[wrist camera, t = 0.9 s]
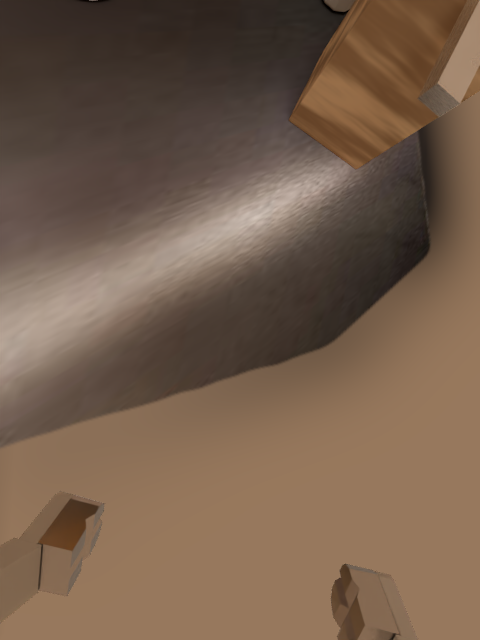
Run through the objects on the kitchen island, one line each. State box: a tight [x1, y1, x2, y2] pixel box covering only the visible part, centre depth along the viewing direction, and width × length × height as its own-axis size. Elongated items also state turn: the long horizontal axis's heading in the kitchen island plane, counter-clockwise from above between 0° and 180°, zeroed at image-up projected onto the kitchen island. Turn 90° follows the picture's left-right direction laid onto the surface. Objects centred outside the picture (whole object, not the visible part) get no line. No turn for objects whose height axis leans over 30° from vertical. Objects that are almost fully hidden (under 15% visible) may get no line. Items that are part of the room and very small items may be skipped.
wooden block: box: [289, 0, 480, 169], centre depth 35 cm, size 12×14×26 cm
